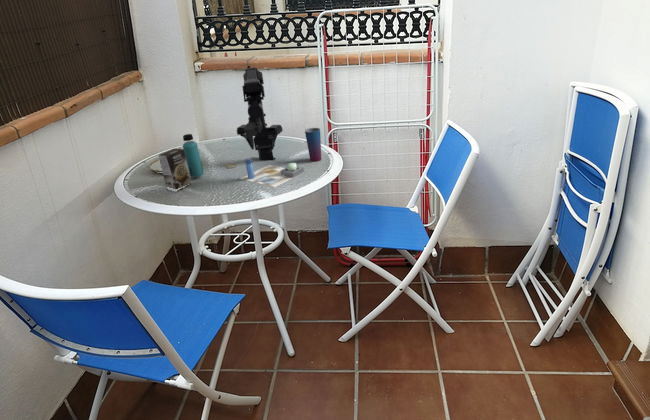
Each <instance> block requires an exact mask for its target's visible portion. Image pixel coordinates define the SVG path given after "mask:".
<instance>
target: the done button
mask: <svg viewBox="0 0 650 420" xmlns="http://www.w3.org/2000/svg"><path fill="white" fill-rule="evenodd" d="M296 166H297V163H296V162H289V163H287V164H286V168H287V170H288V171H291V172H293V171H295V170H297V167H296Z"/></svg>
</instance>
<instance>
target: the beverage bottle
mask: <svg viewBox="0 0 650 420" xmlns="http://www.w3.org/2000/svg"><path fill="white" fill-rule="evenodd" d="M182 138H183V139H182V140H183V141H184V142H183V145H182V149H184V152H185V156H186V160H187V165H188V169H189V173H190V178H197V177H201V176H203V175H204V172H205V171H204V167H203V164H202V163H203V162H202V160H201V159H202V158H201V155H200V152H199V148H198V143H197V142H195V141H193V140H194V137H193V134H192V133H186V134H184V135H183V136H182Z"/></svg>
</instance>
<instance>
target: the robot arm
mask: <svg viewBox="0 0 650 420" xmlns="http://www.w3.org/2000/svg"><path fill="white" fill-rule="evenodd" d="M242 76H243V85H242V93H243V102H244V103H247V106H248V107H247V115H248V123H246V124H241V125H239V126H238V127H237V128H236V134H237V135H238V136H240V137H241V138H243V139H245V141H246V142H247V143H248V145H249V147H250V149H251V150H255V151H257V153H258V158H259V160H260V161H262V162H263V161H264V162H265V161H275V160H276V157H275V156H274V154H273V150H274V149H275V147H276V145H275V144H276V140H277V137H278V136H279V134H281V133H282V132H283V126H282V125H281V124H272V125H270V126H269V127H268V123H267V122H266V120H265V118H266V117H267V116H266V113H264V106H263V100H264V98H265V96H266V95H265V87H264V84H265V81H264V75H263V72H262V71H260V70H258V67H249V68H246V69H245V72H244V73H243V75H242Z"/></svg>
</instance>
